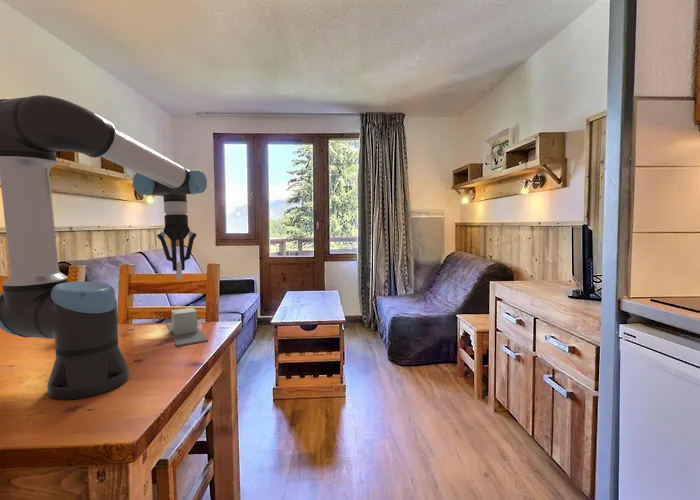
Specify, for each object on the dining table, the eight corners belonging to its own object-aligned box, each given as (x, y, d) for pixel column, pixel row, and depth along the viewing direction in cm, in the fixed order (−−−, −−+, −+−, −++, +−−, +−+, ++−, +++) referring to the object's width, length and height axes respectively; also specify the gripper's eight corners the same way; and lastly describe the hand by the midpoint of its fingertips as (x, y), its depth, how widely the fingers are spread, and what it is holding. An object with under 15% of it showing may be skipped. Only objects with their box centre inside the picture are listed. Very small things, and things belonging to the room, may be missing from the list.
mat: (208, 341, 115) (208, 339, 115) (176, 346, 110) (176, 345, 110) (192, 322, 138) (192, 320, 138) (165, 325, 133) (165, 324, 133)
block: (193, 326, 130) (197, 331, 124) (172, 330, 126) (175, 335, 120) (193, 307, 129) (196, 311, 123) (171, 310, 126) (174, 314, 120)
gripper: (193, 214, 137) (196, 276, 138) (154, 214, 129) (158, 280, 131) (197, 213, 130) (200, 279, 132) (156, 213, 123) (160, 282, 125)
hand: (179, 279), depth 132 cm, fingers closed
